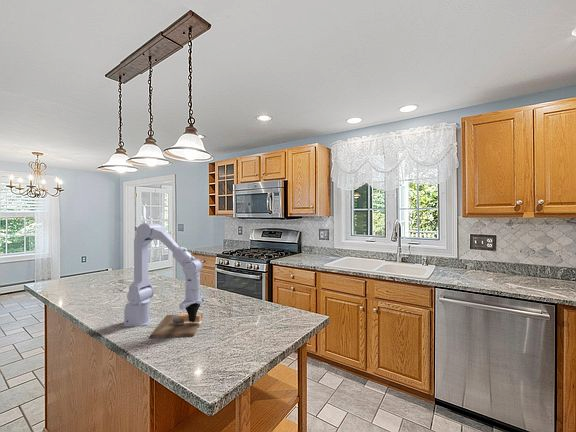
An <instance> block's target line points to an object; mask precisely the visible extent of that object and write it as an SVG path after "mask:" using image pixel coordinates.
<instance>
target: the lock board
mask: <svg viewBox="0 0 576 432" xmlns="http://www.w3.org/2000/svg"><path fill="white" fill-rule="evenodd" d="M180 314H181V313H180ZM180 314H166V315H165V316H164V318H163V319H162V320H161V321H160V322H159V324H158V325H157V326H156V328H155V329H154V330H153V331H152V332H151V333H150V339H156V338H157V339H159V338H177V337H178V338H179V337H180V338H181V337H195V334H196V333H197V330H198V328H199V325H201V323H202V318H203V313H200V314H201V321H200V322H181V323H174V322H173V317H176V316H179V315H180Z"/></svg>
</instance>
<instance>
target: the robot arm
mask: <svg viewBox="0 0 576 432" xmlns="http://www.w3.org/2000/svg"><path fill="white" fill-rule="evenodd" d="M133 239H134V240H133V281H132V283H131V284H130V285H129V287H128V293H127V296H126V298H127V301H128V303H126V304H125V307H124V312H123V313H124V314H123V315H124V317H123V318H124V319H123V326H122V327H124V328H125V327H143V326H144V327H146V326H149V324H150V323H151V322H152V320H153V319H154V318H153V317H150V316H151V314H150V313H151V301H152V298H153V297H154V295H155V290H154V287H153V282H152V281H151V280H149V244H150V243H152V241H153V240H157V241H160V242H161V243H162V244H163V245H164V246H165V247H166V248H167V249H168V250H170V251H171V253H172V258H173V259H175V260H176V262H177V263H178V264H179V265H180V266H181V267H182V271H183V274H184V276H185V277H184V278H185V284H184V286H185V291H184V292H185V294H184V295H185V296H184V297H185V298H184V300H183V301H182V302H181V303H179V310H186V312H187V313H186V314H188V316H189V322H195V319H196V314H198V310H199V309H200V307H201V304H200V303H201V302H203V300H205V295H204V294H200V292H201V272H202V270H203V267H204V266H203V262H202V261H201V259H198V258H195V256H193V255H192V254H191V253H190V252H189V251H188V248H187V247H184V246H179V245H178V243H177V242H176V241H175V240H174V239H173V237H172V236H171V235H170V234H169V232H168V231H167V228H166V227H165V226H164V225H163V224H162V223H159V222H155V223H153V222H152V223H145V222H144V223H141V224H140V225H138V226H137V227H136V228H135V237H134V238H133Z"/></svg>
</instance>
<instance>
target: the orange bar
mask: <svg viewBox="0 0 576 432" xmlns="http://www.w3.org/2000/svg"><path fill="white" fill-rule="evenodd" d="M201 314H202V313H197V314H196V319H195V322H200V321H201V322H202V319H201ZM178 315H179V314H178ZM173 322H174V323H181V322H189V316H188V313H180V315H179V316H176V317H173Z"/></svg>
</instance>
